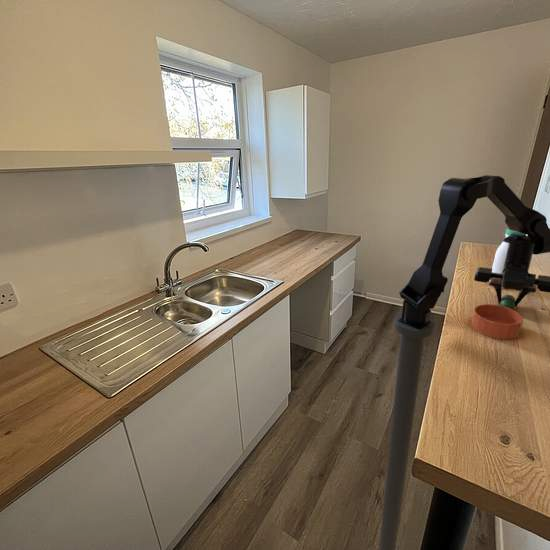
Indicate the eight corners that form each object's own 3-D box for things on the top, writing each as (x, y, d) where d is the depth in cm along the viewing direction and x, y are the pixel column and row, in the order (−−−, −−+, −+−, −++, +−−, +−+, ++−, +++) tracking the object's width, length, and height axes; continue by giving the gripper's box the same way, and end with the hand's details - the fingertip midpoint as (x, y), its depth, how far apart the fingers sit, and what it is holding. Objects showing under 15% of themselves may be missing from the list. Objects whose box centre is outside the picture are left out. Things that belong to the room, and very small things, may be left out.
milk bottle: (508, 291, 101) (523, 234, 94) (484, 284, 108) (496, 229, 100) (520, 285, 105) (535, 229, 97) (496, 278, 111) (508, 225, 103)
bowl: (464, 327, 84) (467, 313, 83) (481, 313, 90) (483, 300, 88) (510, 344, 76) (514, 329, 74) (525, 328, 82) (529, 313, 80)
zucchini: (511, 315, 89) (516, 305, 87) (497, 310, 91) (502, 300, 89) (513, 304, 94) (517, 294, 93) (499, 300, 96) (504, 290, 94)
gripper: (476, 260, 85) (467, 308, 91) (565, 271, 74) (548, 325, 80) (481, 249, 93) (472, 294, 99) (562, 257, 82) (547, 307, 88)
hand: (507, 304), depth 92 cm, fingers closed on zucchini, 3 cm apart
